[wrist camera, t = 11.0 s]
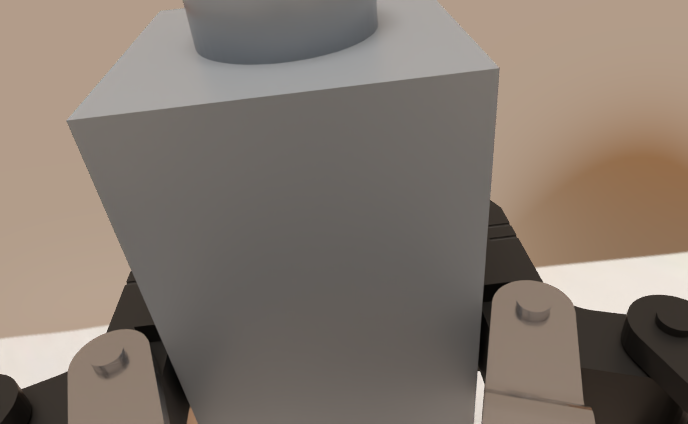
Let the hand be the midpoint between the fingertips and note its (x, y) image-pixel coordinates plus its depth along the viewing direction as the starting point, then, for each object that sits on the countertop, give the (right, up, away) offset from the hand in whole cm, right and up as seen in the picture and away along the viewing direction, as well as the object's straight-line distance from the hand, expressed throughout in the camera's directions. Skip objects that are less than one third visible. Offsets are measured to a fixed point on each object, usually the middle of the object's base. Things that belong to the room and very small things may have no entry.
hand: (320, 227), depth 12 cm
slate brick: (+1, -7, +3) cm, 7 cm away
